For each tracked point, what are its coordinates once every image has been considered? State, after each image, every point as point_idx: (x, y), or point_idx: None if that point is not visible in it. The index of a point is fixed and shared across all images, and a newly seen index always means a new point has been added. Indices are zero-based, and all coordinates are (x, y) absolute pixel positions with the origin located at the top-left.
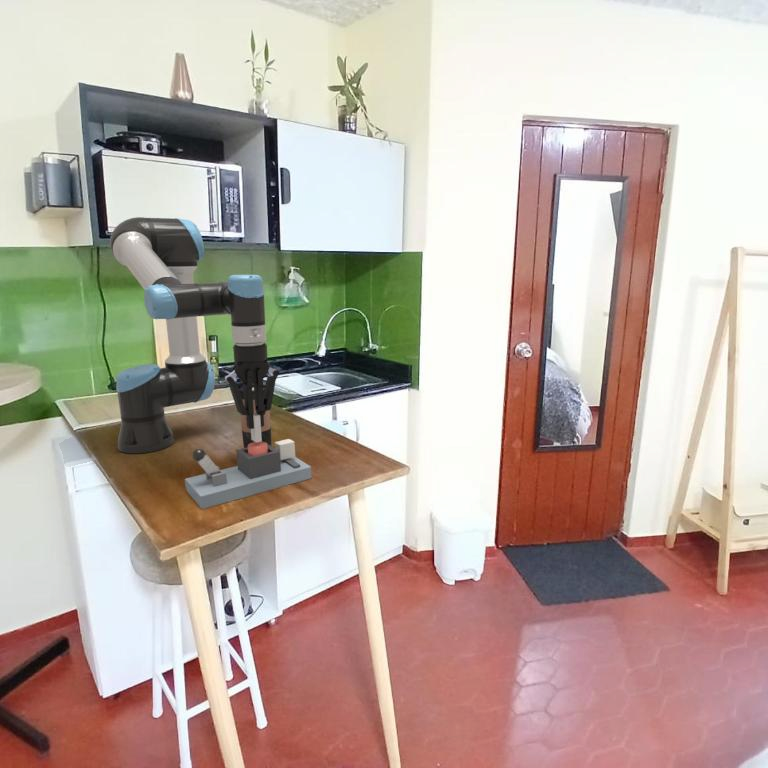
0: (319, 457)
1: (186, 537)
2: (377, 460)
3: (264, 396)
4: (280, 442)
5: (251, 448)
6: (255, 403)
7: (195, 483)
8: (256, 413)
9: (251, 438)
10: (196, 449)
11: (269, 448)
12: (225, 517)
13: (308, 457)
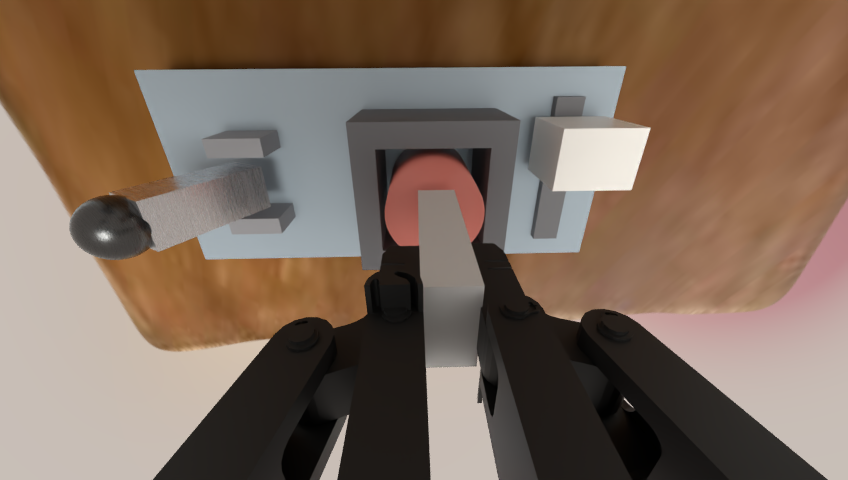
0: (723, 78)
1: (192, 335)
2: (795, 233)
3: (696, 477)
4: (580, 155)
5: (393, 236)
6: (505, 393)
7: (184, 150)
8: (477, 313)
9: (418, 193)
10: (77, 233)
11: (489, 207)
12: (280, 305)
13: (699, 45)
